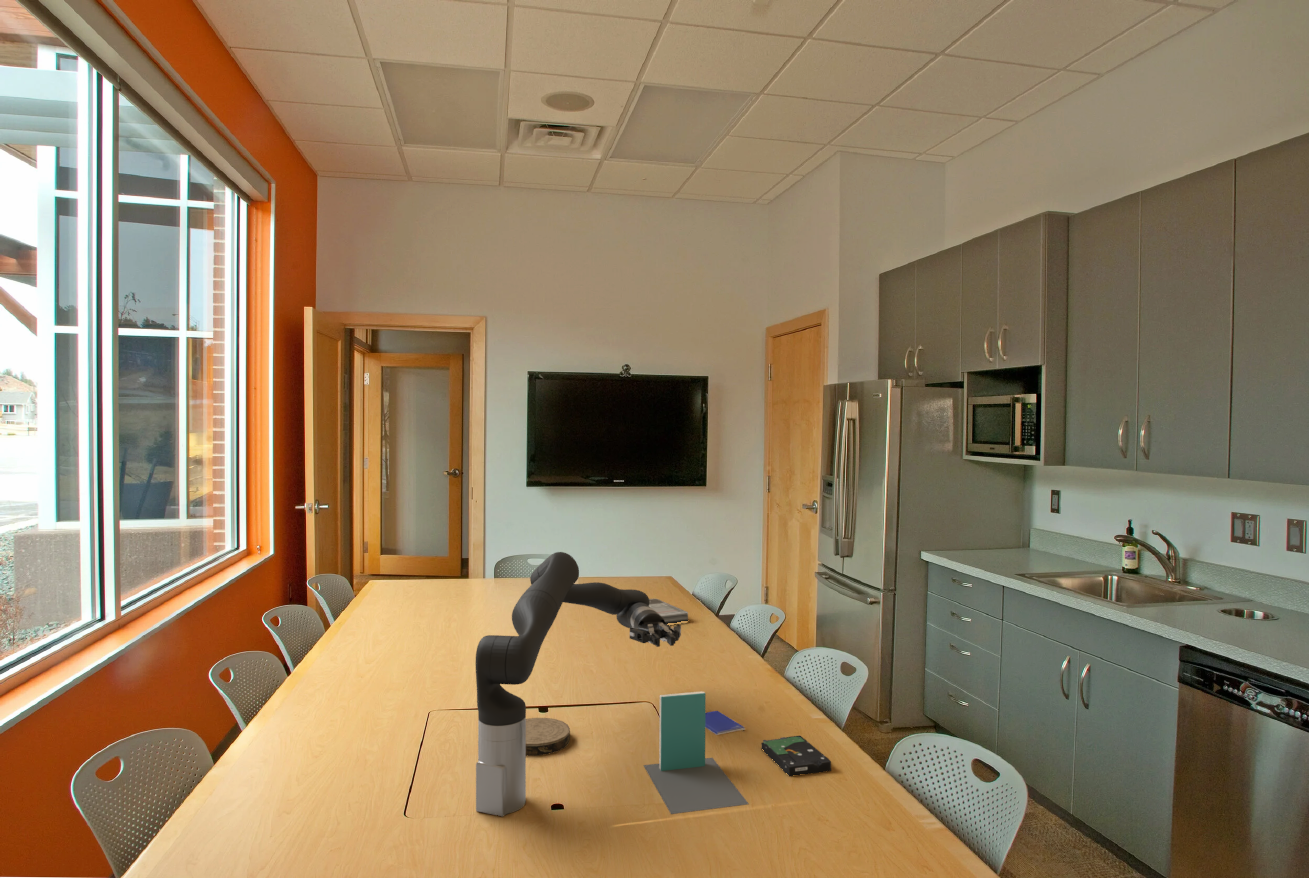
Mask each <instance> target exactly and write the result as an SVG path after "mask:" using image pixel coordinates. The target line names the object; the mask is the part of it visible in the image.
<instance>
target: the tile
mask: <svg viewBox="0 0 1309 878" xmlns="http://www.w3.org/2000/svg"><path fill="white" fill-rule="evenodd" d="M706 694H707V693H706V692H705V691H704V690H703V691H701V690H700V691H690V692H681V693H669V694H660V695H659V729H658V730H659V731H658V732H659V739H658V741H659V743H658V744H659V745H658V746H659V747H658V748H659V751H658V752H659V753H658V755H659V760H658V761H659V763H658V764H659V768H660V770H661V771H666V770H675V769H684V768H693V767H701V766H705V758H706V727H705V713H706V702H707V701H706V696H707V695H706Z"/></svg>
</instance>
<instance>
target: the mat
mask: <svg viewBox="0 0 1309 878" xmlns="http://www.w3.org/2000/svg"><path fill="white" fill-rule="evenodd" d="M643 767H644V770H645V771H646V773H647V774H648V776H649V779H650V780H651V782H652V784H653V785H654V787H655V788H656V789H655V790H657V793H659V795H660V797H661V799H662V801H663V803H664V804H665V806H666V808H667V810H668V811H669V813H670V815H675V814H684V813H691V812H698V811H706V810H707V811H708V810H713V809H722V808H729V807H730V808H731V807H737V806H744V805H749V802H748V801H747V800H746V798H745V797H744V796H743V794H742V793H741V792H740V790H739V789H738V788H737V787H736V786H735V784H734V783H733V782H732V780H731V779H730V778H729V776H728V775H727V774H726V772H725V771H724V770H723V769H722V768H721V766H719V764H718V763H717V761H716V760H715V759H714V758H713V757H705V766H701V767H693V768H684V769H675V770H666V771H661V770H660V768H659V763H651V764H644V765H643Z"/></svg>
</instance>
